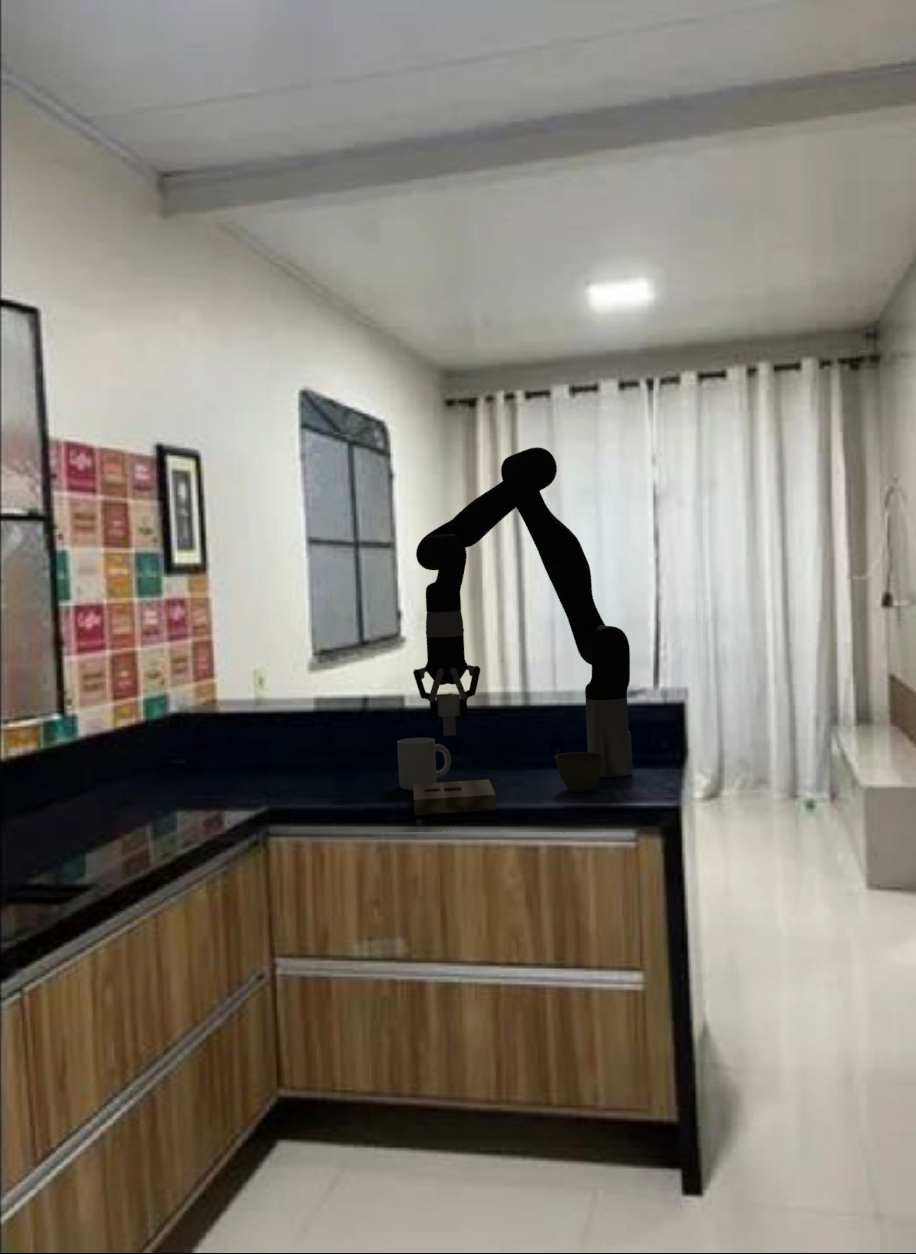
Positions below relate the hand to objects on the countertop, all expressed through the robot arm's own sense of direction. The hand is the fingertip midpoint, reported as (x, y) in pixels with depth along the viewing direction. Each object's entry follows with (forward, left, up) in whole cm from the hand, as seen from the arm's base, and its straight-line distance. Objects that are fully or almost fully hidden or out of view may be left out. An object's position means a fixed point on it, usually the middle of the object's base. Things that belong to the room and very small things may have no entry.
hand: (448, 718), depth 221 cm
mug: (+5, -21, -18) cm, 28 cm away
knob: (0, 0, -3) cm, 3 cm away
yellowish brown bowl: (-27, -6, -18) cm, 33 cm away
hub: (0, 0, -18) cm, 18 cm away
